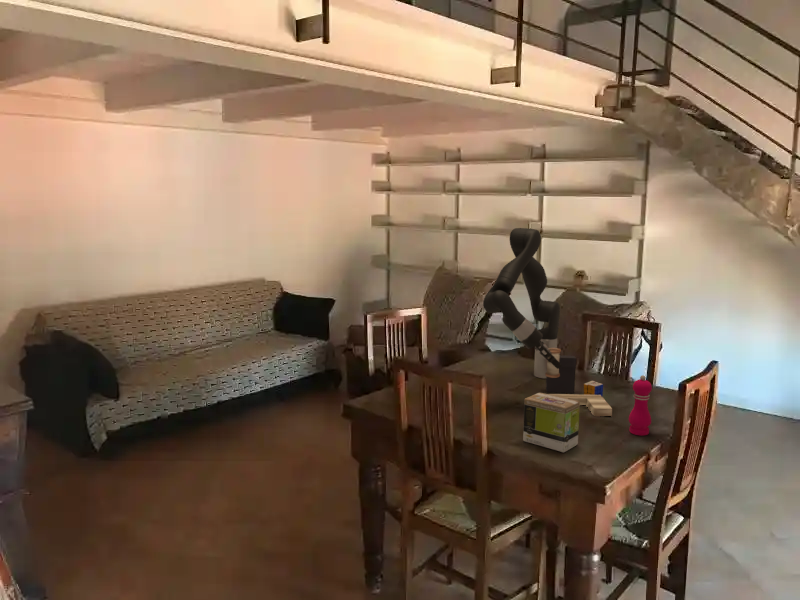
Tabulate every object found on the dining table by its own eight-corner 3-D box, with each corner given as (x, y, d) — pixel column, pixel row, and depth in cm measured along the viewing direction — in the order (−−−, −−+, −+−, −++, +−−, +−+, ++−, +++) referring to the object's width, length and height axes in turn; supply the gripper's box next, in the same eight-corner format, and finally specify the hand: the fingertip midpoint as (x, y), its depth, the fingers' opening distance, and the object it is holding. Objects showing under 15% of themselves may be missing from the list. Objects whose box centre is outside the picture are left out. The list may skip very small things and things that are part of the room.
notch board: (547, 401, 256) (548, 393, 255) (600, 402, 255) (600, 394, 255) (556, 415, 240) (556, 407, 239) (611, 416, 239) (612, 408, 239)
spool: (544, 373, 249) (545, 347, 247) (558, 373, 249) (559, 347, 247) (546, 377, 244) (547, 351, 242) (560, 377, 244) (562, 351, 242)
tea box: (578, 444, 213) (581, 400, 211) (563, 453, 206) (565, 408, 203) (537, 433, 223) (539, 390, 221) (521, 441, 216) (523, 397, 213)
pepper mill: (632, 426, 229) (636, 371, 226) (653, 431, 225) (657, 375, 221) (624, 432, 224) (628, 375, 220) (645, 437, 219) (650, 379, 216)
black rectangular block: (572, 391, 269) (574, 355, 266) (574, 394, 265) (576, 358, 262) (545, 390, 270) (547, 354, 267) (546, 393, 266) (548, 357, 263)
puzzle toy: (592, 393, 266) (592, 380, 265) (602, 397, 262) (603, 383, 261) (583, 396, 262) (583, 382, 261) (593, 399, 258) (594, 385, 257)
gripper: (537, 330, 236) (569, 363, 238) (531, 321, 250) (562, 353, 252) (521, 344, 238) (554, 377, 239) (517, 335, 252) (547, 366, 253)
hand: (558, 365), depth 246 cm, fingers closed on spool, 4 cm apart
